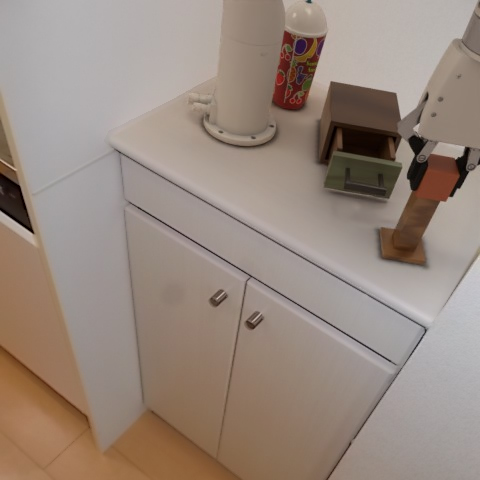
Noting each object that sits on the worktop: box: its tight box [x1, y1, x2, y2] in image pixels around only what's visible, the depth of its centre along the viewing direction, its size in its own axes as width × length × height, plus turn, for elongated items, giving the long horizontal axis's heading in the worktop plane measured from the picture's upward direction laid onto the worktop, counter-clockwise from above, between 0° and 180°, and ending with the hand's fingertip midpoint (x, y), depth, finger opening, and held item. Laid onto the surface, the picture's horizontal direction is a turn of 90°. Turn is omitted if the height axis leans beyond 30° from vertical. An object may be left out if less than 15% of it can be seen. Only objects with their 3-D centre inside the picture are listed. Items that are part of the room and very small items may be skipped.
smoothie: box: [272, 0, 329, 110], centre depth 92 cm, size 8×8×20 cm
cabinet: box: [318, 80, 403, 165], centre depth 89 cm, size 14×12×8 cm
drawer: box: [323, 126, 403, 200], centre depth 82 cm, size 17×10×6 cm, turn 174°
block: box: [415, 153, 460, 203], centre depth 66 cm, size 4×4×4 cm
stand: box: [379, 190, 441, 266], centre depth 72 cm, size 6×6×10 cm
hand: (430, 186), depth 67 cm, fingers closed on block, 4 cm apart
